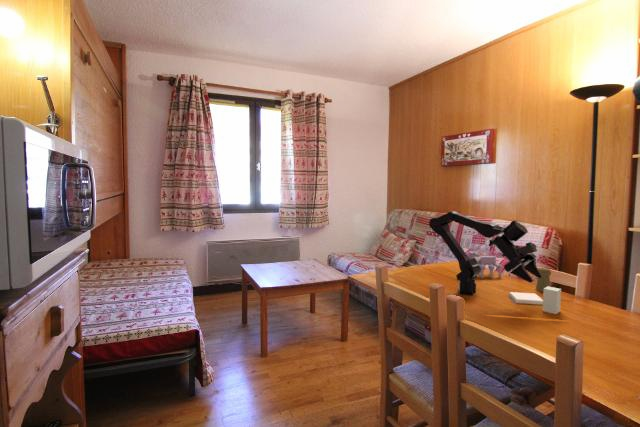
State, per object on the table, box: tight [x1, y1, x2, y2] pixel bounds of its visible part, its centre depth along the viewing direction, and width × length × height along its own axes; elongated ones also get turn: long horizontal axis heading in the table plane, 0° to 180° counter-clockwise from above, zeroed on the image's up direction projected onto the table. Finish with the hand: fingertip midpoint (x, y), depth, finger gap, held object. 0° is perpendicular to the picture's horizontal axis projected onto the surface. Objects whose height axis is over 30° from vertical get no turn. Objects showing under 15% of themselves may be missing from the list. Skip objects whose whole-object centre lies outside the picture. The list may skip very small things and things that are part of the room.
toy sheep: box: [466, 251, 504, 279], centre depth 187 cm, size 20×11×14 cm, turn 92°
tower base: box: [506, 294, 543, 307], centre depth 146 cm, size 12×12×2 cm
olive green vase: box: [535, 267, 552, 293], centre depth 158 cm, size 6×6×11 cm
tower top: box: [509, 291, 543, 305], centre depth 146 cm, size 10×10×2 cm
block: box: [542, 286, 562, 315], centre depth 133 cm, size 4×4×10 cm
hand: (536, 279), depth 136 cm, fingers open, 9 cm apart
